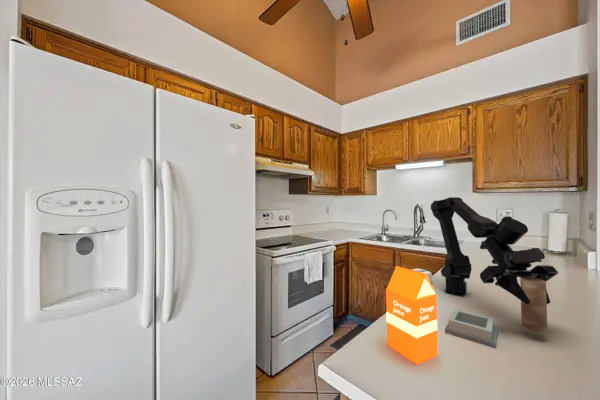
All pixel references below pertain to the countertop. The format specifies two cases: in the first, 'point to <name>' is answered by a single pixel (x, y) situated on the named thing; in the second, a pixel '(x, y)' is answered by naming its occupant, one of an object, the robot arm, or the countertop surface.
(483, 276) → the robot arm
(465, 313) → the dock
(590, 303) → the countertop surface
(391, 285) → the orange juice
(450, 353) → the countertop surface
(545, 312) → the walnut plug
